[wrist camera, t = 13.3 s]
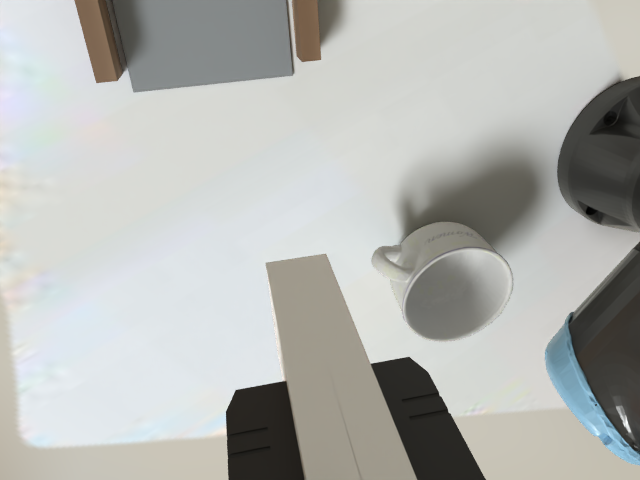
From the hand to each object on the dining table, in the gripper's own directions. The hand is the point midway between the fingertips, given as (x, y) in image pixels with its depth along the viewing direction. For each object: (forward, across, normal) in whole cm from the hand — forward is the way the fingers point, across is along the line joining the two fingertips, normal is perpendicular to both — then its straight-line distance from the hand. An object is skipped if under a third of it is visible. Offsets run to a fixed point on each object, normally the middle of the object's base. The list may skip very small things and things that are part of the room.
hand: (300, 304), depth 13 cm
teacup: (+35, -16, +20) cm, 43 cm away
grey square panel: (+34, +2, -6) cm, 35 cm away
